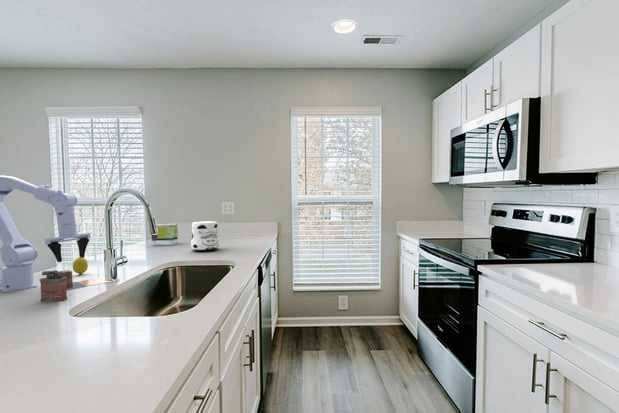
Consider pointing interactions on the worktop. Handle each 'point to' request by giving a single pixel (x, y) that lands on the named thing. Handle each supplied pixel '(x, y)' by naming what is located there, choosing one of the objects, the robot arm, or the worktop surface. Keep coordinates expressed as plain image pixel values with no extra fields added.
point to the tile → (95, 281)
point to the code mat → (76, 286)
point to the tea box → (166, 235)
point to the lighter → (53, 287)
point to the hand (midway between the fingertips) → (71, 259)
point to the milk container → (204, 236)
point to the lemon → (80, 265)
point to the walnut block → (68, 278)
